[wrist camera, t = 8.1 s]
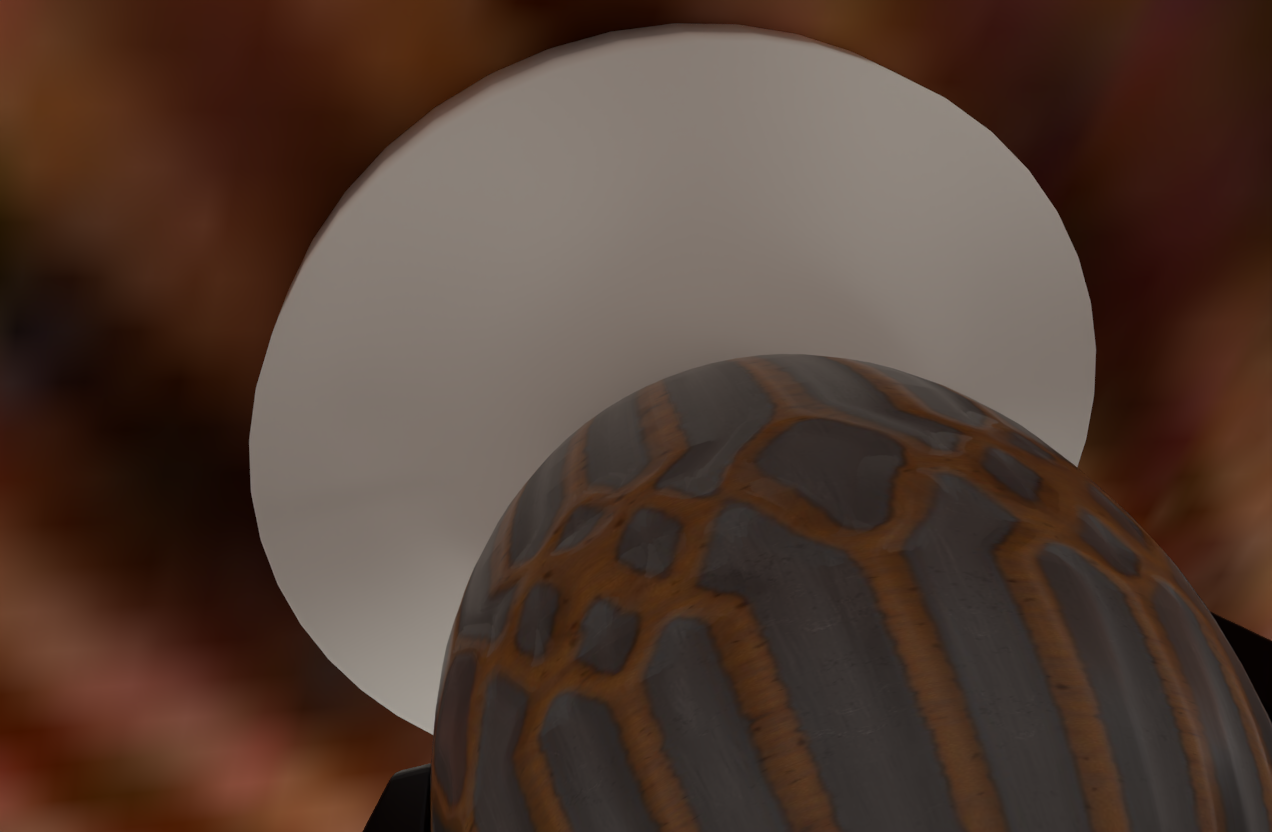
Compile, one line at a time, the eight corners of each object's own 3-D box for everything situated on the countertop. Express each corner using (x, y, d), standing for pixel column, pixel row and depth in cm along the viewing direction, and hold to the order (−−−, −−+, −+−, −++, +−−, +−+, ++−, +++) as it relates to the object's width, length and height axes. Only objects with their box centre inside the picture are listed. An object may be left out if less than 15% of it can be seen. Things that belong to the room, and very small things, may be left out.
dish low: (1079, -63, 11) (1144, -55, 10) (1024, 628, 17) (1061, 679, 16) (113, 131, 10) (76, 162, 9) (405, 781, 16) (401, 843, 15)
